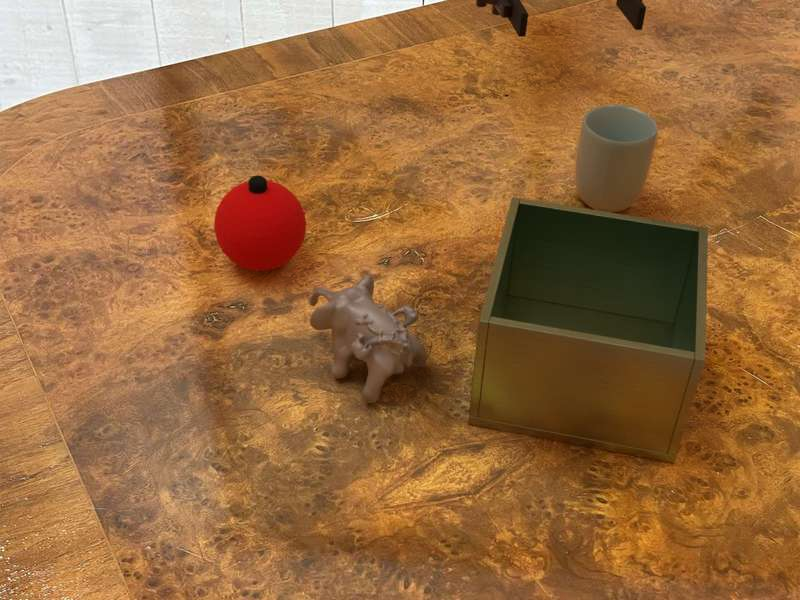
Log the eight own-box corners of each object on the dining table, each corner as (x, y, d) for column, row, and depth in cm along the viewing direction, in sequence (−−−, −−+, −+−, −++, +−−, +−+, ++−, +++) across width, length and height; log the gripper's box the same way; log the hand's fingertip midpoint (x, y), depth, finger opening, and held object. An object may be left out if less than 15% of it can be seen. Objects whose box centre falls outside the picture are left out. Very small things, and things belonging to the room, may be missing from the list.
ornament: (258, 223, 113) (253, 143, 106) (325, 256, 109) (323, 174, 103) (199, 265, 107) (189, 183, 101) (267, 301, 103) (261, 218, 97)
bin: (680, 327, 102) (708, 227, 95) (674, 463, 89) (705, 360, 82) (499, 296, 105) (511, 196, 97) (467, 424, 92) (478, 320, 84)
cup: (594, 228, 114) (609, 149, 108) (557, 190, 119) (569, 111, 113) (654, 213, 117) (672, 134, 110) (615, 175, 122) (630, 98, 115)
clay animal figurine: (395, 418, 92) (397, 353, 87) (273, 375, 96) (269, 311, 91) (436, 352, 99) (441, 288, 94) (321, 314, 102) (319, 251, 97)
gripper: (618, -31, 138) (681, 46, 122) (430, -22, 134) (470, 59, 118) (628, -89, 133) (695, -16, 117) (433, -82, 129) (476, -5, 113)
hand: (582, 22), depth 118 cm, fingers open, 13 cm apart
